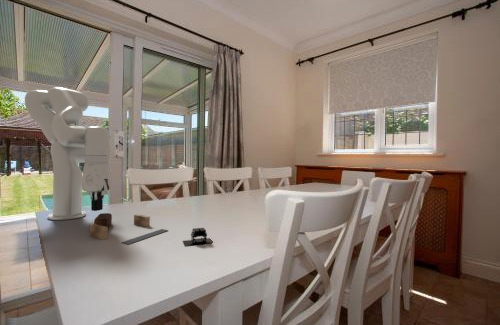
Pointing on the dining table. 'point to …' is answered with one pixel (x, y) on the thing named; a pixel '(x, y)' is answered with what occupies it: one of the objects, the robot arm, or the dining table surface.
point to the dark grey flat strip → (144, 236)
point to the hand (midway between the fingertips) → (97, 210)
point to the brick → (103, 219)
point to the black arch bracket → (201, 241)
